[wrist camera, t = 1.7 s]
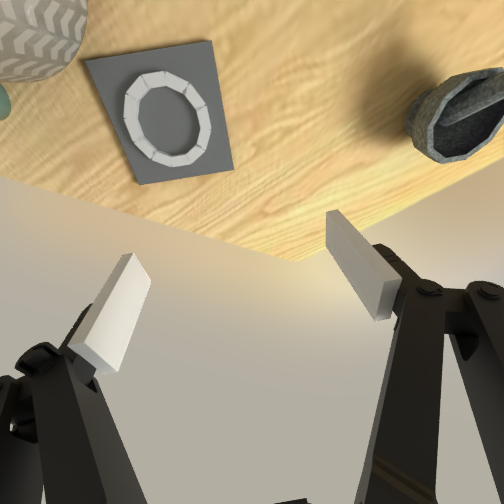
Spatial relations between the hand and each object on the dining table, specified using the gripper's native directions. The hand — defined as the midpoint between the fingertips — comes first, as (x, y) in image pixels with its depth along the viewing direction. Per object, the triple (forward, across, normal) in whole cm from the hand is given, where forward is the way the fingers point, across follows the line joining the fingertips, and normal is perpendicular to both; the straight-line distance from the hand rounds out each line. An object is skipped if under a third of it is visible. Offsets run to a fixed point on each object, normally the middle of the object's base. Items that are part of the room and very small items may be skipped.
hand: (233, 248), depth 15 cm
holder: (+22, -6, +6) cm, 24 cm away
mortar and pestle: (+22, +29, +1) cm, 37 cm away
